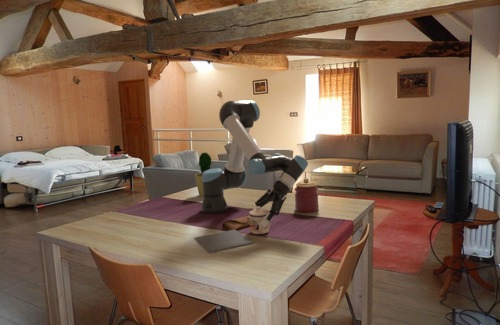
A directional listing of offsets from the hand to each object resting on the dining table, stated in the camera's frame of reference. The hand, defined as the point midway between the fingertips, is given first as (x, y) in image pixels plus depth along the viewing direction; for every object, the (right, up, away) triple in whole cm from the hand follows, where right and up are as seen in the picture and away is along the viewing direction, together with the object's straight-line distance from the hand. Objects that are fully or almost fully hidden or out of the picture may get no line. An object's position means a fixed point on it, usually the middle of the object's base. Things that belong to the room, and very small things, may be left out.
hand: (255, 222), depth 171 cm
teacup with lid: (+3, -5, +2) cm, 6 cm away
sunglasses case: (-7, -5, +14) cm, 16 cm away
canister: (+29, +1, +37) cm, 47 cm away
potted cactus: (-32, +5, +85) cm, 90 cm away
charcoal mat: (-14, -7, -6) cm, 17 cm away
